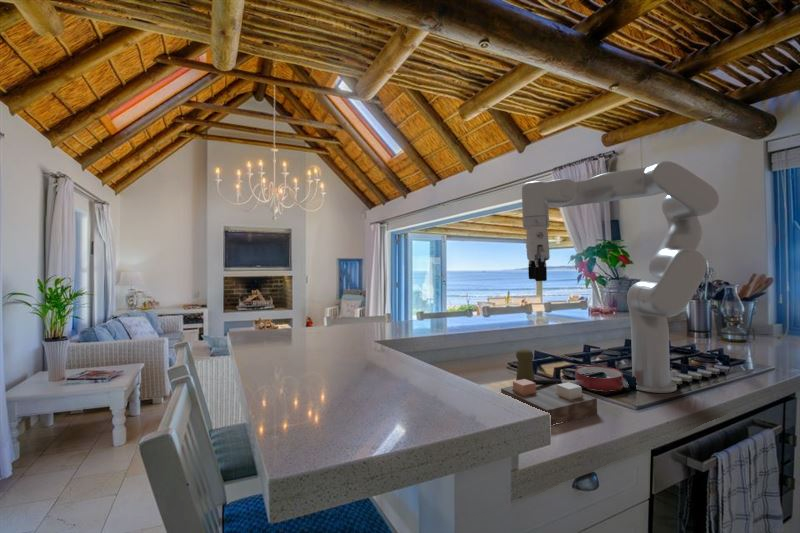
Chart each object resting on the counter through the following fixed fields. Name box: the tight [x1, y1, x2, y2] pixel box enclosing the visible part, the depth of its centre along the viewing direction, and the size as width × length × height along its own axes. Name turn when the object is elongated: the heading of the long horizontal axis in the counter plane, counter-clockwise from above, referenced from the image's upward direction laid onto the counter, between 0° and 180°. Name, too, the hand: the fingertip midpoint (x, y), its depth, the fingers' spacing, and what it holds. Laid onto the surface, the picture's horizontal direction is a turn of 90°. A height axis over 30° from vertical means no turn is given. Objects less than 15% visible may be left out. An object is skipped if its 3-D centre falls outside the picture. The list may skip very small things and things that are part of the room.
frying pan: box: [533, 365, 624, 391], centre depth 116 cm, size 32×13×6 cm, turn 120°
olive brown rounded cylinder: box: [515, 348, 536, 382], centre depth 125 cm, size 6×6×11 cm
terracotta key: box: [512, 379, 536, 396], centre depth 107 cm, size 4×4×3 cm
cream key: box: [557, 382, 583, 400], centre depth 103 cm, size 4×4×3 cm
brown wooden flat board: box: [500, 383, 598, 426], centre depth 105 cm, size 16×18×4 cm
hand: (537, 279), depth 119 cm, fingers open, 9 cm apart
